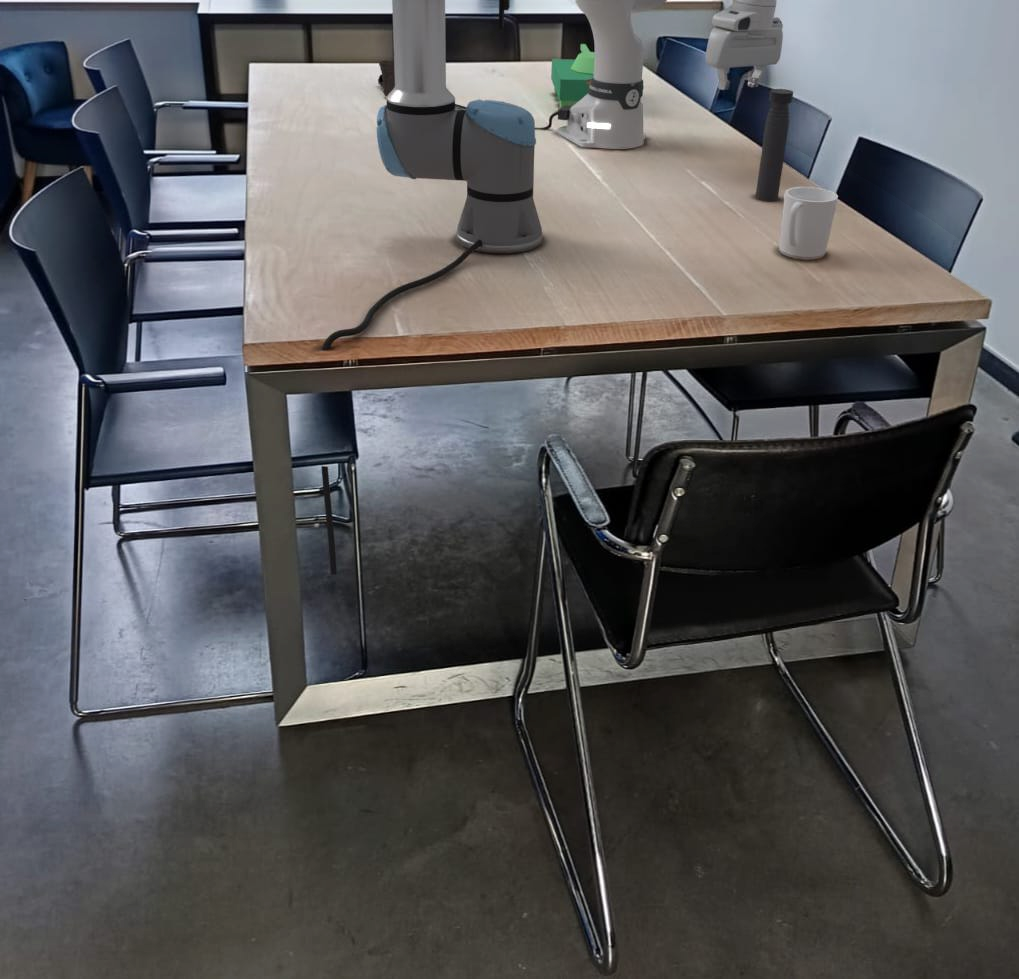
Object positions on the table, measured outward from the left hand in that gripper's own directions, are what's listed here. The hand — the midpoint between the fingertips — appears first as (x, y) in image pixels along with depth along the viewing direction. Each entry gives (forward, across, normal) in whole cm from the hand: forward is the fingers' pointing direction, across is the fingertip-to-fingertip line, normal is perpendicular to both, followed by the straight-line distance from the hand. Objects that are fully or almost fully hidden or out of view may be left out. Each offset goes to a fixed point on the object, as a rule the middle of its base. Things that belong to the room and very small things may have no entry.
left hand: (468, 26), depth 224 cm
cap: (+8, -63, +13) cm, 65 cm away
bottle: (+28, -63, +13) cm, 70 cm away
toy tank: (+28, -21, -69) cm, 77 cm away
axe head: (+28, +29, -69) cm, 80 cm away
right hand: (+11, -56, -9) cm, 58 cm away
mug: (+28, -66, +47) cm, 86 cm away
